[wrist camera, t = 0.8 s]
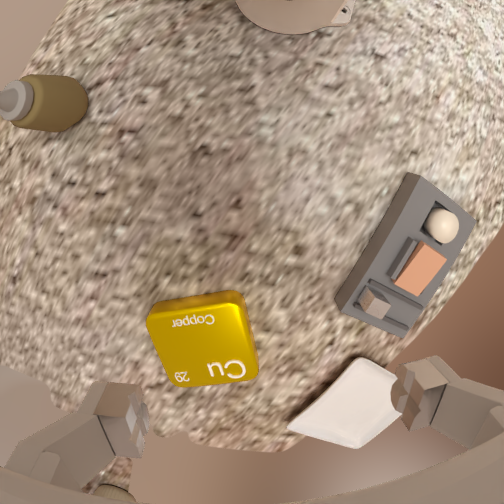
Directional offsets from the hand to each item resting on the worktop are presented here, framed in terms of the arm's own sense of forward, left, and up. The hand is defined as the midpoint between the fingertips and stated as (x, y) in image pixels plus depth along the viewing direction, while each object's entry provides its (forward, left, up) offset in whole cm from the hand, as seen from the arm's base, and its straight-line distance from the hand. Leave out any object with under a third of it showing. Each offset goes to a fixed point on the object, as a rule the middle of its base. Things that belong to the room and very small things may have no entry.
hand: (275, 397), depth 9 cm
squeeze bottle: (-1, -30, -36) cm, 47 cm away
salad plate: (+27, +36, -36) cm, 57 cm away
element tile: (+24, +3, -36) cm, 43 cm away
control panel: (-2, +24, -35) cm, 43 cm away
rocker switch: (-2, +24, -30) cm, 38 cm away
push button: (-9, +24, -32) cm, 41 cm away
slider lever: (+5, +20, -31) cm, 37 cm away
